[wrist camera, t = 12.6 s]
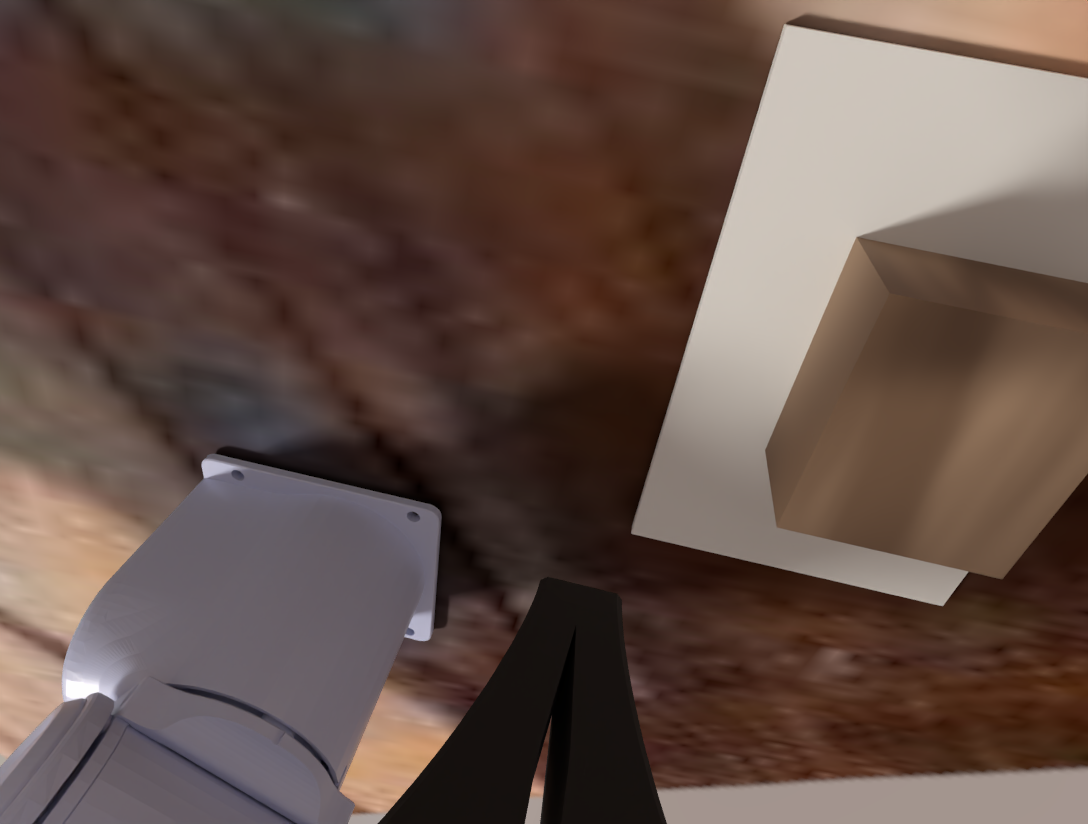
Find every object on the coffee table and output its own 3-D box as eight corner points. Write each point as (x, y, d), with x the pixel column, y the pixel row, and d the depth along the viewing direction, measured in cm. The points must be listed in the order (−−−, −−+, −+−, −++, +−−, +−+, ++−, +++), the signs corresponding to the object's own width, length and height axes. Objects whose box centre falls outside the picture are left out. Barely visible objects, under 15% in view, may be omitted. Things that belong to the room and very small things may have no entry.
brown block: (776, 527, 18) (1002, 579, 18) (889, 293, 14) (1184, 353, 14) (764, 450, 21) (959, 493, 21) (856, 237, 17) (1099, 285, 17)
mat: (631, 526, 24) (630, 533, 24) (784, 23, 15) (786, 25, 15) (939, 597, 24) (942, 605, 23) (1296, 115, 14) (1310, 118, 14)
